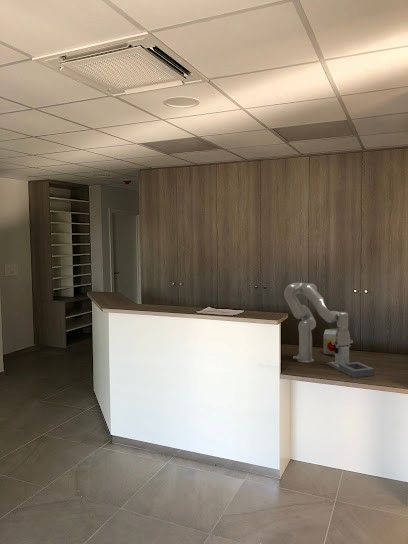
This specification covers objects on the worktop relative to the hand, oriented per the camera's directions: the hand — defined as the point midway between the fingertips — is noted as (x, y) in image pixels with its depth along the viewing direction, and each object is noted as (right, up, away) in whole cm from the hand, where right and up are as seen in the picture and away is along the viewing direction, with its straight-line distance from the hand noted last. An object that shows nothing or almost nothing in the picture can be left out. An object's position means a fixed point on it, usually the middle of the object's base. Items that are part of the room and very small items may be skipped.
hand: (342, 352), depth 327 cm
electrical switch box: (+3, -8, +34) cm, 35 cm away
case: (+3, -10, -8) cm, 13 cm away
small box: (0, -8, +1) cm, 8 cm away
